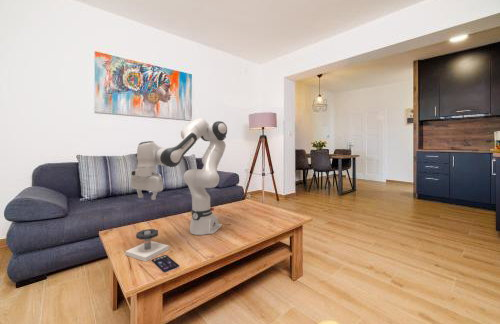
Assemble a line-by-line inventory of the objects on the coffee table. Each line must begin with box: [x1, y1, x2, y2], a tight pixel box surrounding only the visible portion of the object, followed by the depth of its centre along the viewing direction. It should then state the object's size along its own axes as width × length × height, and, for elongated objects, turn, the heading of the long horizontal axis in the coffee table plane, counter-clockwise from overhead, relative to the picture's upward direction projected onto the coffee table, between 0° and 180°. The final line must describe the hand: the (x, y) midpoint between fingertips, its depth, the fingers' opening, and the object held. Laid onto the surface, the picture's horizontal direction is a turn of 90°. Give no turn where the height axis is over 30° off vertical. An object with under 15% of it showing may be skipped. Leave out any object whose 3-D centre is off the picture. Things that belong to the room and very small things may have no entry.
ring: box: [135, 228, 159, 241], centre depth 110 cm, size 10×10×1 cm
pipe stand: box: [124, 231, 170, 263], centre depth 110 cm, size 14×14×10 cm
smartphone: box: [150, 254, 181, 274], centre depth 100 cm, size 8×1×15 cm
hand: (147, 198), depth 116 cm, fingers open, 8 cm apart
